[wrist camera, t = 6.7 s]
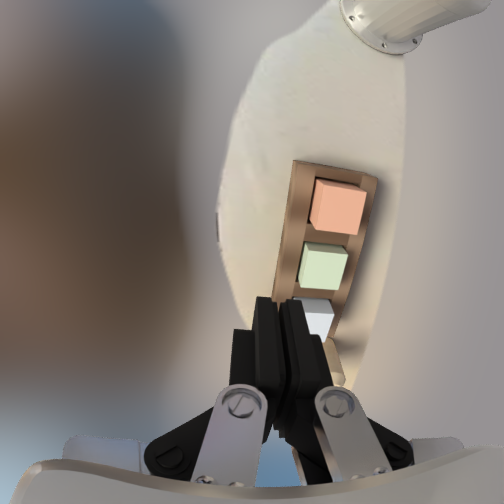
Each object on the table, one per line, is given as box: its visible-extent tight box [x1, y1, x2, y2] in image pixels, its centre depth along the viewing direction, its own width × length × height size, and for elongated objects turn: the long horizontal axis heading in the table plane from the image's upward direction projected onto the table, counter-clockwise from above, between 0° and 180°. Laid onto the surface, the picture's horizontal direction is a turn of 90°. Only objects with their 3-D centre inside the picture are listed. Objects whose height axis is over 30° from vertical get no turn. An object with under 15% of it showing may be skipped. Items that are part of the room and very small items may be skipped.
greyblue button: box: [292, 296, 334, 342], centre depth 38 cm, size 5×5×4 cm
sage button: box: [297, 241, 348, 290], centre depth 36 cm, size 5×5×4 cm
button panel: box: [271, 160, 378, 337], centre depth 37 cm, size 24×10×4 cm, turn 174°
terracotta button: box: [308, 178, 367, 235], centre depth 31 cm, size 5×5×4 cm
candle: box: [322, 337, 346, 387], centre depth 42 cm, size 6×6×10 cm
